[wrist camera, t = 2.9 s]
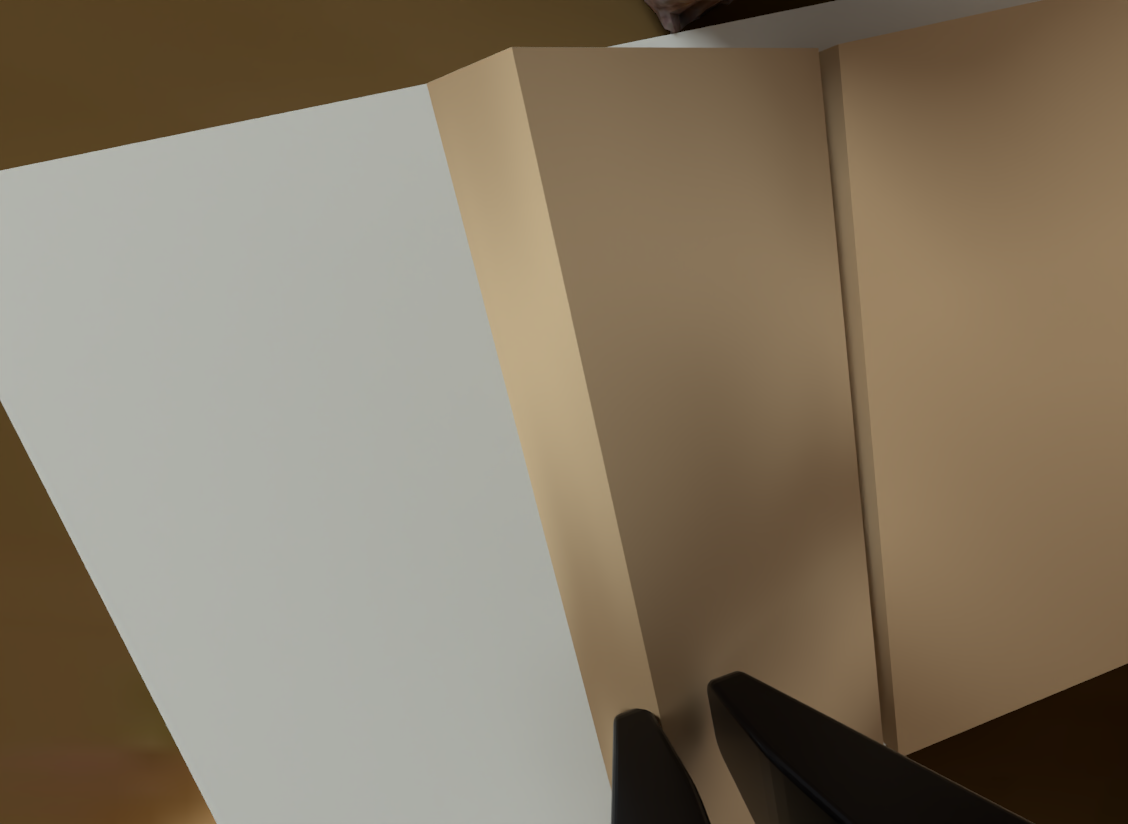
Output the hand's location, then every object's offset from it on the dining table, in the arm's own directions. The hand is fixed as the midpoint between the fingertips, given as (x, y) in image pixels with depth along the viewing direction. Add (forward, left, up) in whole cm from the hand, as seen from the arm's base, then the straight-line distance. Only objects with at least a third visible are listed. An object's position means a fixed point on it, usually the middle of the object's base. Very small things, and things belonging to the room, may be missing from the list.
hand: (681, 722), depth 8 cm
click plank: (0, -2, -3) cm, 3 cm away
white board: (0, -2, -6) cm, 6 cm away
